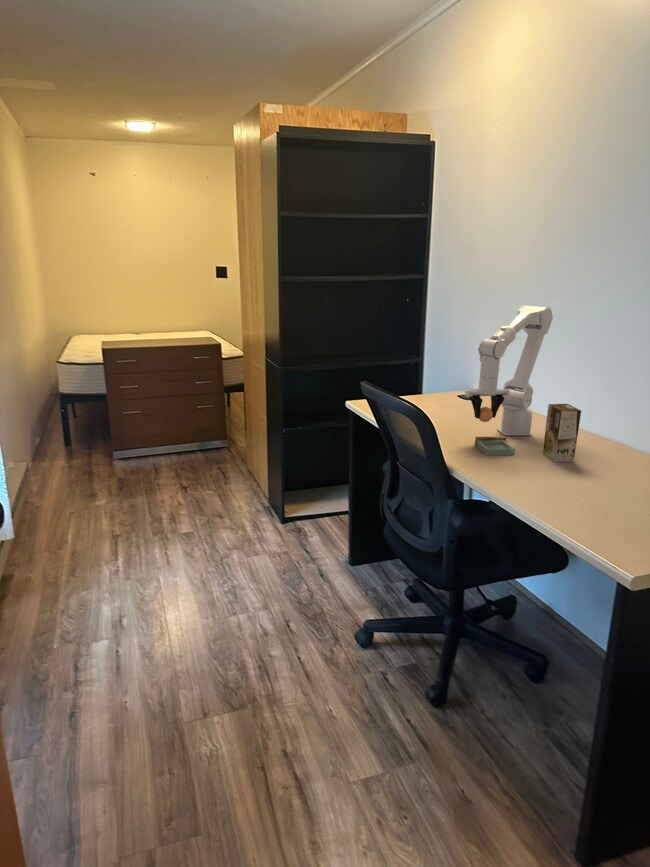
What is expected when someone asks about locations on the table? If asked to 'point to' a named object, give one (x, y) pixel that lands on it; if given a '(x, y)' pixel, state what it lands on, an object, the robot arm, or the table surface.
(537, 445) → the table surface
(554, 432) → the coffee box
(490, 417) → the ball
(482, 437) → the rail
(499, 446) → the tray
